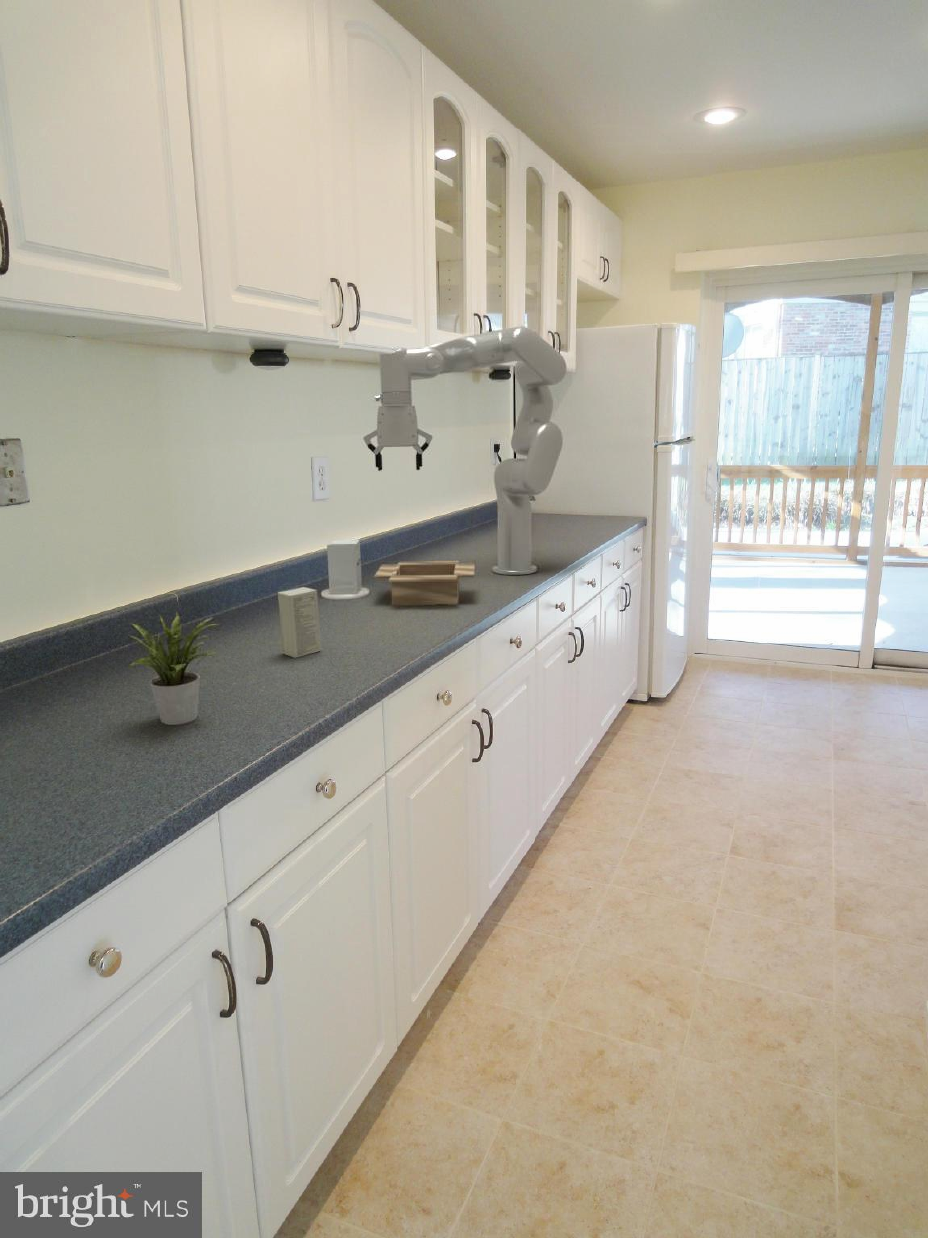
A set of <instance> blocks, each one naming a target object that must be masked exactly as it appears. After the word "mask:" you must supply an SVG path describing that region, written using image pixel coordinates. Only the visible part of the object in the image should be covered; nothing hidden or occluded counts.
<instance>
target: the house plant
mask: <svg viewBox="0 0 928 1238" xmlns="http://www.w3.org/2000/svg"><path fill="white" fill-rule="evenodd" d="M158 616H159V619H160V621H161V623H162V627H163V631H164V634H165V638H166V643H167V648H168V649H167V650H168V652H167V650H166V647H165V645H164V642H163V639H162V637H161V634H158V635H157V642H156V640H155V638H154V637H153V636H152V635H151V633H150V632H149V631H147V630H146V629H144V628H142V627H141V626H139V625H138V624H134V623H130V624H131V625H132V626H134V628H136V629H137V631H138V632H139V633H140V635H141V636H142V637H143V638H144V640H145V642H146V643H147V644H146V643H145V642H144V641H142V640H141V639H140V638H137V637H136V636H133V635H131V634H129V636H130V638H133V639H134V640H136V641H137V642H139V643H140V645H142V647H144V648H145V649H147V650H148V651H149V657H142V658H139V659H138V660H135V661H133V662H132V663H130V664H129V667H130V666H134V665H135V666H136V665H148V666H149V667H151V668H152V669H153V670H154V671H155V672H156V673H157V675H158V676H155V677H153V678H152V679H150V681H149V685H150V688H151V692H152V694H153V698H154V702H155V704H156V708H157V712H158V715H159V718H160V722H161V723H162V724H165V725H169V726H170V725H171V726H172V725H173V726H174V725H175V726H176V725H183V724H188V723H191V722H193V721H194V720H196V719H197V717H198V709H199V699H200V698H199V695H200V684H201V683H200V681H201V677H200V674H198V673H195V672H192V670H190V671H186V670H187V668H188V665H189V664H190V663H191V662H192V661H194V659H197V658H200V657H202V658H201V660H200V661H199V662H198V663H196V665H195V666H197V665H198V664H199V663H201V661H202V660H203V659H204V658H206V657H212V658H214V659H216V657H215V656H213V655H212V654H218V653H219V652H215V651H214V652H213V651H212V652H210V653H204V651H203V650H200V649H198V648H199V647H200V645H202V644H204V643H206V640H204V641H202V642H199V643H197V644H195V642H197V641H198V640H199V639H202V638H205V637H206V638H207V637H209V635H201V636H199V637H198V638H197V636H198V635H199V633H200V632H202V630H204V629H206V628H207V627H211V626H218V625H219V623H211V624H206V623H207V622H208V621H210V620H212V619H213V618H214V616H212V617H209V618H207V619H205V620H203V621H201V622H200V623H198V624H197V625H196V627H194V629H192V631H190V633H188V634H187V635H185V636H183V637H181V633H182V626H181V622H180V615H179V613H178V611H176V612H175V617H174V619H173V621H172V622H171V626H170V629H169V627H168V625H167V624H166V622H165V620H164V618H163V617H162V616H161V615H160V614H158ZM205 624H206V625H205ZM184 640H185V642H184V644H183V645H182V647H180V645H181V642H183V641H184ZM193 644H195V645H194V646H193ZM192 646H193V647H192ZM200 652H203V653H200ZM199 653H200V654H199Z"/></svg>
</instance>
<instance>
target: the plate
mask: <svg viewBox="0 0 928 1238" xmlns="http://www.w3.org/2000/svg"><path fill="white" fill-rule="evenodd" d="M320 594H321V597H322V598H324V599H326V600H327V599H328V600H337V601H338V600H342V601H343V600H354V599H359V598H360V599H361V598H364V597H368V596H369V595H370V589H369V588H368V587H364V586H362V588H361V589H360V590H359V592H358V594H330V592H329V588H327V589H324V590H321V592H320Z"/></svg>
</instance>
